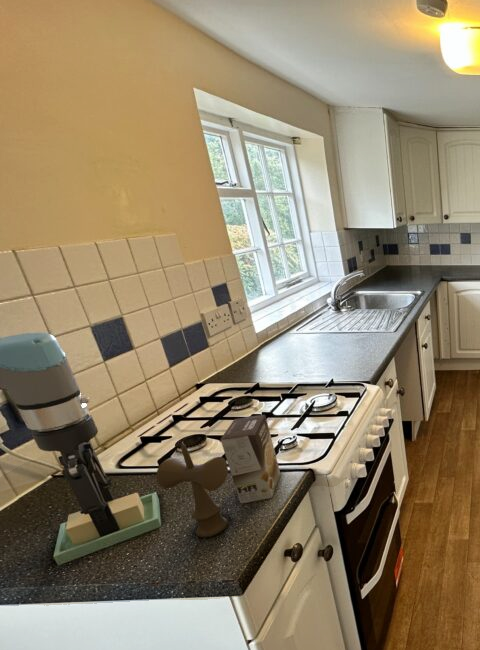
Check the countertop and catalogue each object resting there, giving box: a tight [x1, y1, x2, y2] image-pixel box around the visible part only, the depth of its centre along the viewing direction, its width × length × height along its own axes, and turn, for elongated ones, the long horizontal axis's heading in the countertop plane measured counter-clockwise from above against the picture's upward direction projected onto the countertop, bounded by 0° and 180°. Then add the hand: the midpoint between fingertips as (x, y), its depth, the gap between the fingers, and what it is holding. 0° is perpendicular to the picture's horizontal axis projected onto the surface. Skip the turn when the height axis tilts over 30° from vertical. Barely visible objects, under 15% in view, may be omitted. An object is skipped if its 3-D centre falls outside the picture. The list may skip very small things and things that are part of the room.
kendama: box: [156, 442, 229, 538], centre depth 77 cm, size 6×10×20 cm, turn 88°
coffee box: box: [219, 414, 281, 504], centre depth 89 cm, size 9×6×16 cm
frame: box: [53, 491, 162, 566], centre depth 80 cm, size 14×10×2 cm
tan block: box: [66, 492, 144, 546], centre depth 80 cm, size 10×5×4 cm, turn 130°
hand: (110, 524), depth 80 cm, fingers closed on tan block, 5 cm apart
